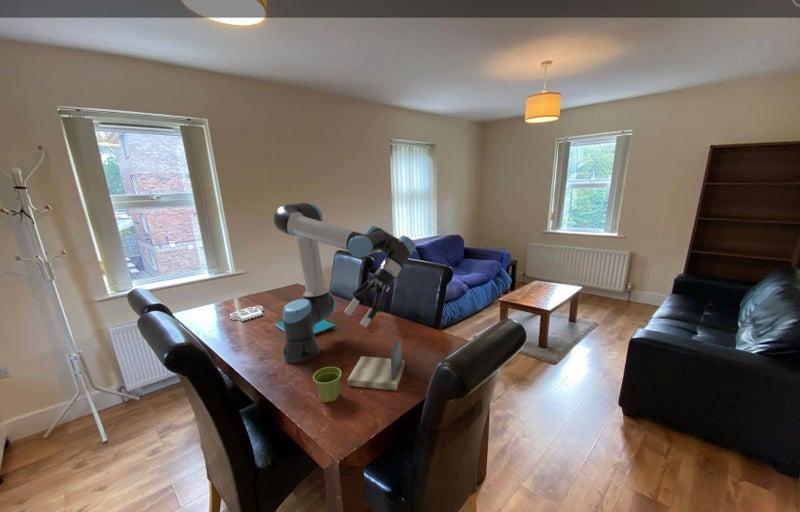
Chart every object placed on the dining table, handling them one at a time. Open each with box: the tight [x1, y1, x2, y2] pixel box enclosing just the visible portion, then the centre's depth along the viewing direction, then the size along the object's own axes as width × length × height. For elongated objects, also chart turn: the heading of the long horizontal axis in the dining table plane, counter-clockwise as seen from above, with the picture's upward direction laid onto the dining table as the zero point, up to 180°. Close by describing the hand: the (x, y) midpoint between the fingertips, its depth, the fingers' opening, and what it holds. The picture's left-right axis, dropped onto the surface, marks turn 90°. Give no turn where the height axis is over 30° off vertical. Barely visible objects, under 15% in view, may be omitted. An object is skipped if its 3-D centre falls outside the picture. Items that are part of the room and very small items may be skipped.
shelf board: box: [347, 356, 406, 391], centre depth 118 cm, size 18×16×2 cm
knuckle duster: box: [229, 305, 264, 322], centre depth 180 cm, size 3×18×15 cm
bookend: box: [390, 338, 402, 380], centre depth 115 cm, size 1×12×10 cm, turn 169°
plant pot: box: [312, 366, 342, 403], centre depth 105 cm, size 9×9×9 cm
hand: (354, 319), depth 113 cm, fingers open, 13 cm apart
